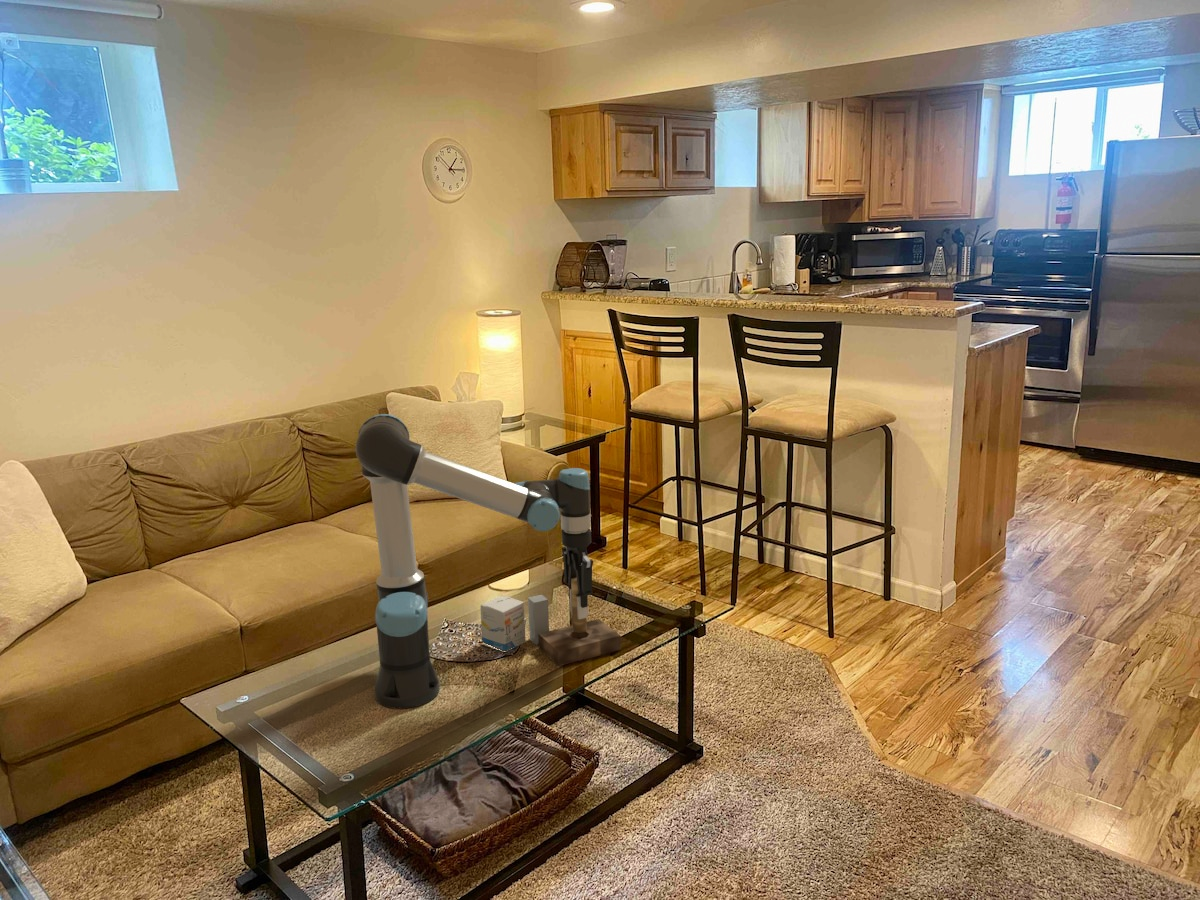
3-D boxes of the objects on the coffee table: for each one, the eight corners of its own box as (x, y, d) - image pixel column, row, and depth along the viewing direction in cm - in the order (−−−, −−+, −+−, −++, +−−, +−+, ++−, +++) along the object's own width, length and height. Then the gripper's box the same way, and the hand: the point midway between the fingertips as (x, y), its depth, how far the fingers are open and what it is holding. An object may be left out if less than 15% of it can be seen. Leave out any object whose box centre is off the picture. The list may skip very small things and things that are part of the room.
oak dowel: (576, 633, 229) (574, 583, 226) (570, 628, 232) (568, 578, 229) (589, 630, 231) (587, 580, 227) (583, 625, 234) (581, 575, 230)
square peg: (535, 644, 235) (534, 602, 233) (529, 639, 239) (527, 597, 236) (549, 641, 237) (547, 599, 234) (543, 635, 241) (541, 594, 238)
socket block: (558, 666, 223) (557, 651, 222) (538, 647, 234) (538, 633, 233) (620, 649, 231) (620, 635, 230) (599, 632, 242) (598, 618, 241)
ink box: (504, 653, 231) (502, 612, 228) (481, 645, 236) (479, 604, 233) (526, 641, 237) (525, 601, 235) (503, 634, 242) (501, 593, 240)
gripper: (604, 535, 219) (607, 623, 225) (574, 518, 234) (577, 600, 239) (577, 541, 216) (580, 629, 221) (548, 523, 230) (552, 606, 236)
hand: (579, 614), depth 230 cm, fingers closed on oak dowel, 3 cm apart
